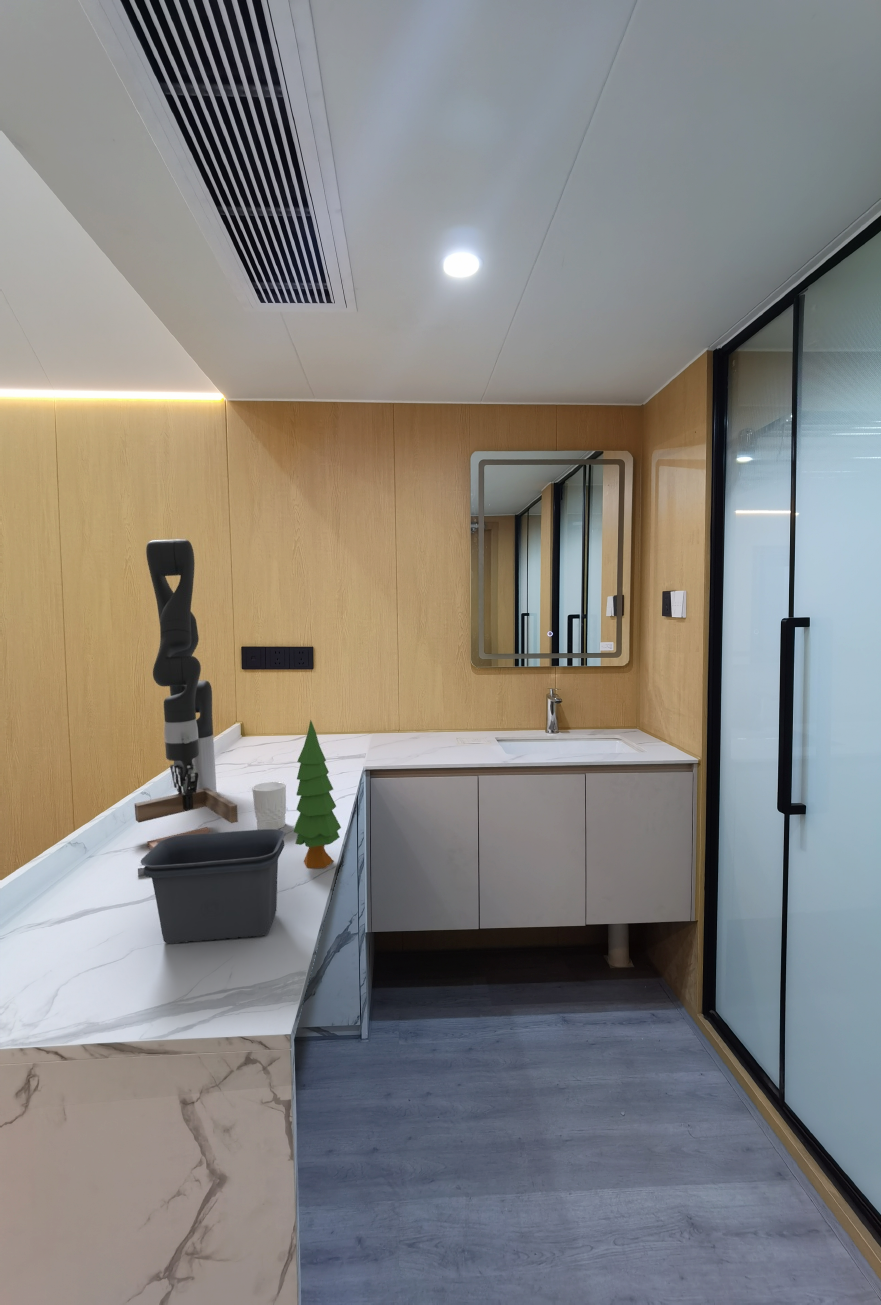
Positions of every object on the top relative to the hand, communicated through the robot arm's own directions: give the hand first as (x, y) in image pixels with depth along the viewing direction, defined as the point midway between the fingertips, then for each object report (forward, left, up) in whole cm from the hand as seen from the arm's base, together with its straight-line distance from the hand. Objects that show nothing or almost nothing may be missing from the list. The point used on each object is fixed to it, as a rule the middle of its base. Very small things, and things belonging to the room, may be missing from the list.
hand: (186, 807), depth 155 cm
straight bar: (+24, -9, -6) cm, 27 cm away
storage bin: (+54, -12, -5) cm, 56 cm away
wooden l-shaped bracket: (+8, -3, -1) cm, 9 cm away
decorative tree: (+42, +13, -5) cm, 45 cm away
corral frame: (+13, -3, -5) cm, 15 cm away
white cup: (+13, +16, -5) cm, 21 cm away
